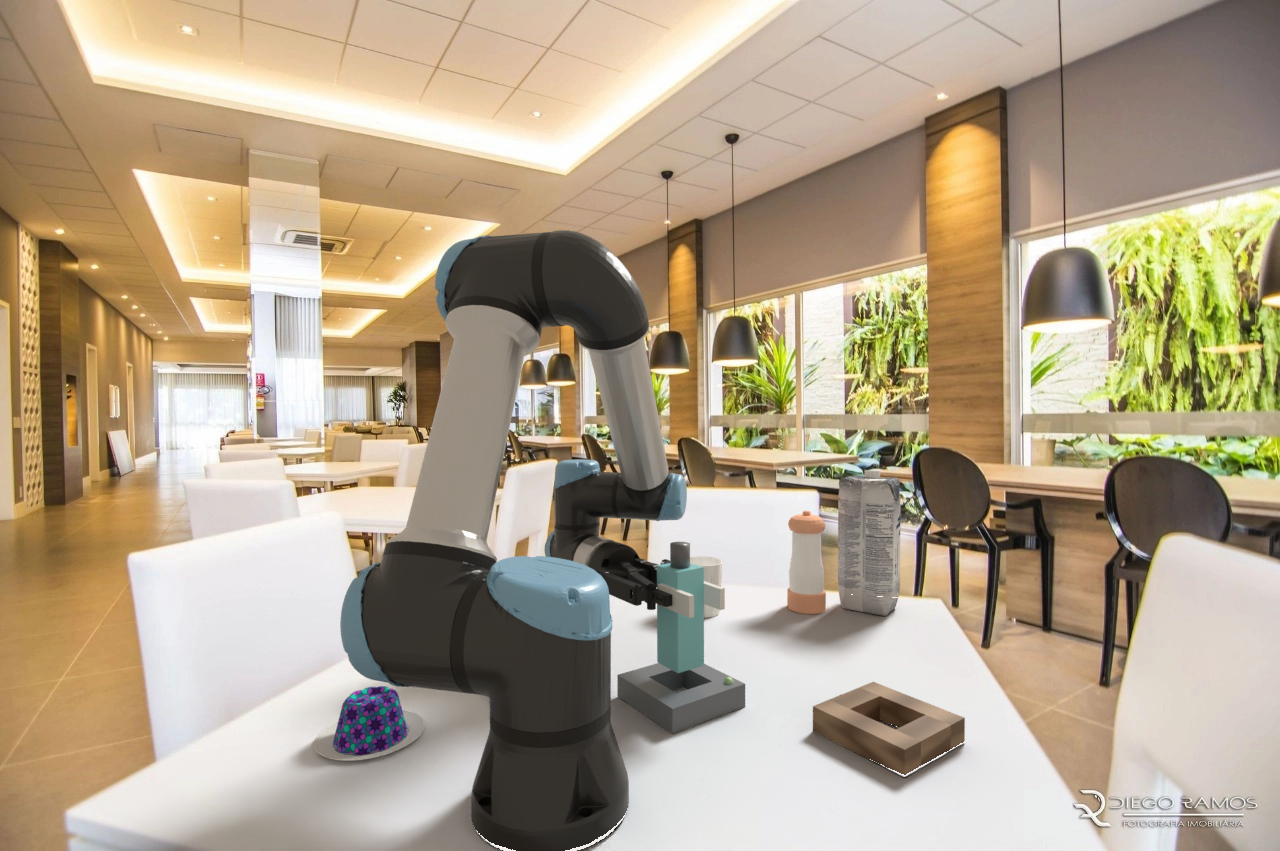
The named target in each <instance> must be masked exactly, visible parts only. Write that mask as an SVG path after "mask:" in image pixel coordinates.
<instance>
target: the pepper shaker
mask: <svg viewBox="0 0 1280 851" xmlns="http://www.w3.org/2000/svg"><path fill="white" fill-rule="evenodd" d="M787 524H788V528H789V530H790V531H791V532H792V534H791V540H792V541H791V542H792V543H791V548H792V549H791V558H790V563H789V564H790V565H789V570H788V577H789V578H788V581H789V583H788V584H789V587H788V588H787V592H786V593H787V596H786V597H787V601H786V602H787V603H786V604H787V609H789V611H792V612H795V613H797V614H804V615H815V614H816V615H817V614H823V613H824V612H826V610H827V609H826V607H827V605H826V604H827V602H826V601H827V594H826V591H825V589H824V587H825V571H824V564H823V559H822V533H823V532H824V531H825V529H826V522H825V521H824V519H823V517H820V516H819V515H816V514H813V513H812V512H811V511H809V510H804V511H802V513H800V514H795V515H793V516H791V517H790V519H789V520H788V523H787Z"/></svg>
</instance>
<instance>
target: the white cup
mask: <svg viewBox="0 0 1280 851" xmlns="http://www.w3.org/2000/svg"><path fill="white" fill-rule="evenodd" d="M690 563H692V564H695V565H698V566H701V567H704V581H705V582H708V583H711V584H714V585H717V586H720V587H722V582H723V581H722V580H723V579H722V578H723V560H722V559H720V558H718V557H714V556H707V555H706V556H705V555H704V556H703V555H696V556H690ZM720 611H721V610H719V609H716V608H713V607H711V606H708V605H706V604H704V619H706V618H713V617H716V616H718V615H719V614H720Z"/></svg>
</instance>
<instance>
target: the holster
mask: <svg viewBox="0 0 1280 851" xmlns="http://www.w3.org/2000/svg"><path fill="white" fill-rule="evenodd" d="M965 718H966V717H965V716H962V715H959V714H957V713H954V712H951V711H948V710H946V709H944V708H941V707H939V706H936V705H934V704H931V703H928V702H926V701H924V700H921V699H919V698H916V697H913V696H911V695H909V694H906V693H903V692H900V691H898V690H896V689H892V688H891V687H888V686H885V685H883V684H881V683H877V682H875V681H872V682H868V683H866V684H864V685H861V686H858V687H857V688H854V689H852V690H849V691H847V692H845V693H843V694H840V695H838V696H835V697H832V698H829V699H827V700H824V701H823V702H820V703H818V704H815V705H812V732H814V733H816V734H818V735H820V736H821V737H824V738H825V739H827V740H829V741H831V742H834V743H835V744H837V745H839V746H842V748H844V749H847V750H849V751H851V752H853V753H855V752H856V753H858V754H860V755H862V756H864V757H866V758H868V759H871V760H873V761H875V762H877V763H879V764H882V765H884V766H885V767H887V768H890V769H892V770H895V771H897V772H899V773H901V774H904V775H906V774H907V773H909V772H911V771H913V770H914V769H916V768H918V767H919V766H921V765H923V764H925V763H927V762H929V761H931V760H932V759H934V758H936V757H937V756H939V755H941V754H943V753H944V752H947V751H949V750H950V749H952V748H953V747H956V746H957V745H959V744H960V743H963V742H964V741H965V740H966V739H965V736H966V735H965V734H966V731H965V728H966V726H965V723H966V720H965ZM881 720H882V722H883V721H884V724H883V723H882V722H879V721H881ZM885 723H886V724H888V723H889V725H890V724H892V725H894V726H893V727H895V726H897V727H899V728H897V727H896V729H895V728H892V727H891V726H892V725H891V726H889V725H886V724H885ZM856 753H855V754H856ZM858 754H857V755H858ZM860 755H859V756H860ZM862 756H861V757H862ZM864 757H863V758H864ZM866 758H865V759H866ZM868 759H867V760H868Z"/></svg>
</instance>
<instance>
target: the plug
mask: <svg viewBox="0 0 1280 851" xmlns="http://www.w3.org/2000/svg"><path fill="white" fill-rule="evenodd" d="M669 544H670V545H669V548H670V551H669V552H670V554H669V555H670V556H669V558H670V559H669V560H670V563H667V564H662V565H660V564H659V565H657V589H658V584H661V583H663V584H665V585H668V586H671V587H673V588H676V589H679V590H682V591H684V592H687V593H690V594H692V595H694V617H692V618H688V617H686V616H683V615H681V614H679V613H676V612H674V611H672V610H669V609H667V608H664V607H662V606H660V605H658V604H656V615H657V616H656V635H657V636H656V638H657V639H656V645H657V647H656V649H657V650H656V651H657V652H656V653H657V654H656V658H657V660H656V661H657V662H656V663H660V664H662V665H663V666H665V667H667V668H669V669H671V670H673V671H674V672H676V673H681V672H684V671H687V670H690V669H693V668H697V667H700V666H703V665H704V664H705V618H704V567H701V566H698V565H695V564H692V563H690V557H691V543H690V542H687V541H672V542H670V543H669Z"/></svg>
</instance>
